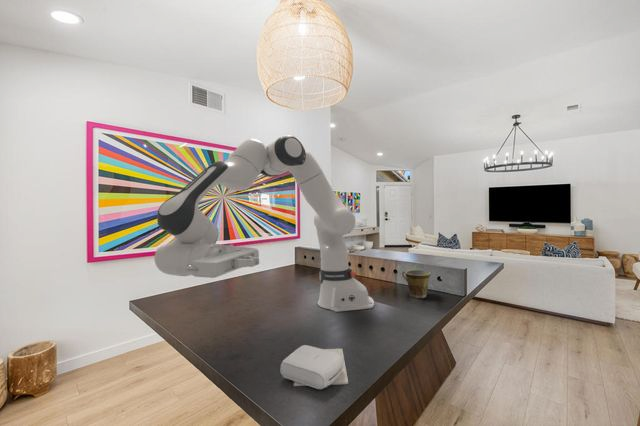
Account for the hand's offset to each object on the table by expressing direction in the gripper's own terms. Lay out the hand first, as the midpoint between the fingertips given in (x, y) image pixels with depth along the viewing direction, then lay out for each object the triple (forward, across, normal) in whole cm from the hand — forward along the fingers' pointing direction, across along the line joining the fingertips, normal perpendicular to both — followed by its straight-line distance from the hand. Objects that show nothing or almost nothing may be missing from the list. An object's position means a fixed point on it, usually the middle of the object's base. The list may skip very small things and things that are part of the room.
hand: (256, 262), depth 71 cm
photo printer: (+9, 0, +23) cm, 25 cm away
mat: (+15, +3, +26) cm, 30 cm away
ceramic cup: (+38, +66, +26) cm, 81 cm away
